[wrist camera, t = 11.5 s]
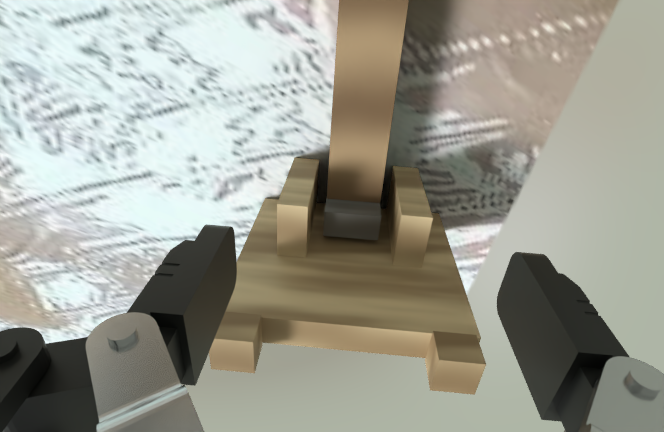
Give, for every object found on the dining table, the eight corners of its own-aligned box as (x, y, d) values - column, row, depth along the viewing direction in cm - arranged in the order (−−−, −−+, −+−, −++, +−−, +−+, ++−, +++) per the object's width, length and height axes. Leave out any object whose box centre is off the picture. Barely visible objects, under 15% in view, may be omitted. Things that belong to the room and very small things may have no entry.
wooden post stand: (264, 154, 33) (193, 280, 19) (448, 170, 32) (513, 309, 19) (265, 220, 36) (205, 368, 22) (433, 234, 36) (480, 395, 22)
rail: (345, -55, 25) (341, -65, 20) (409, -51, 25) (421, -60, 20) (328, 197, 34) (323, 235, 29) (375, 201, 34) (377, 240, 29)
